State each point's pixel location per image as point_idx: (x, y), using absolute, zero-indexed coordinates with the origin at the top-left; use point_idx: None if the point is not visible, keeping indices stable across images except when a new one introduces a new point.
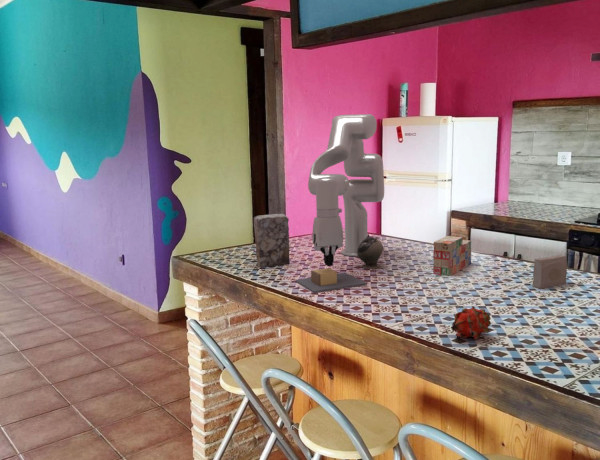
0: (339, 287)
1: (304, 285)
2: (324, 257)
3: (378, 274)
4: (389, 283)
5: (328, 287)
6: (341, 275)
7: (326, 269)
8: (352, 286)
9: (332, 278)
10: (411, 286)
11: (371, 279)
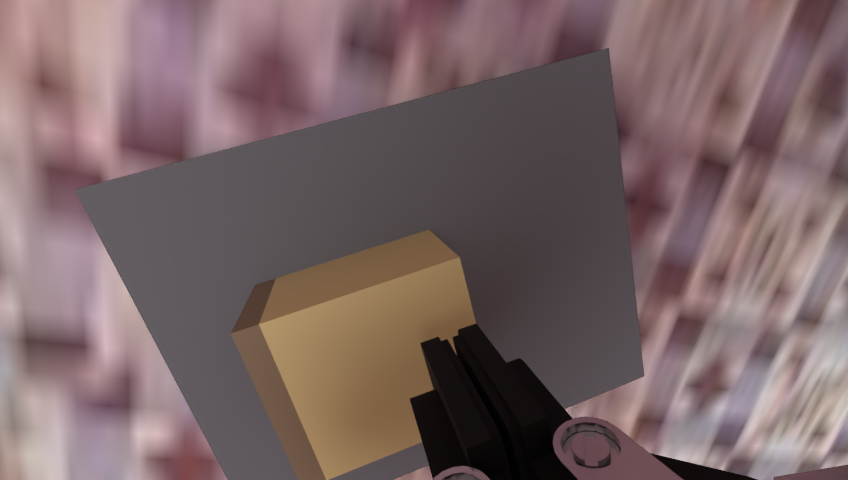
0: None
1: (181, 391)
2: (430, 467)
3: (796, 132)
4: (752, 355)
5: None
6: (552, 137)
7: (421, 309)
8: None
9: None
10: (809, 418)
11: (706, 251)
